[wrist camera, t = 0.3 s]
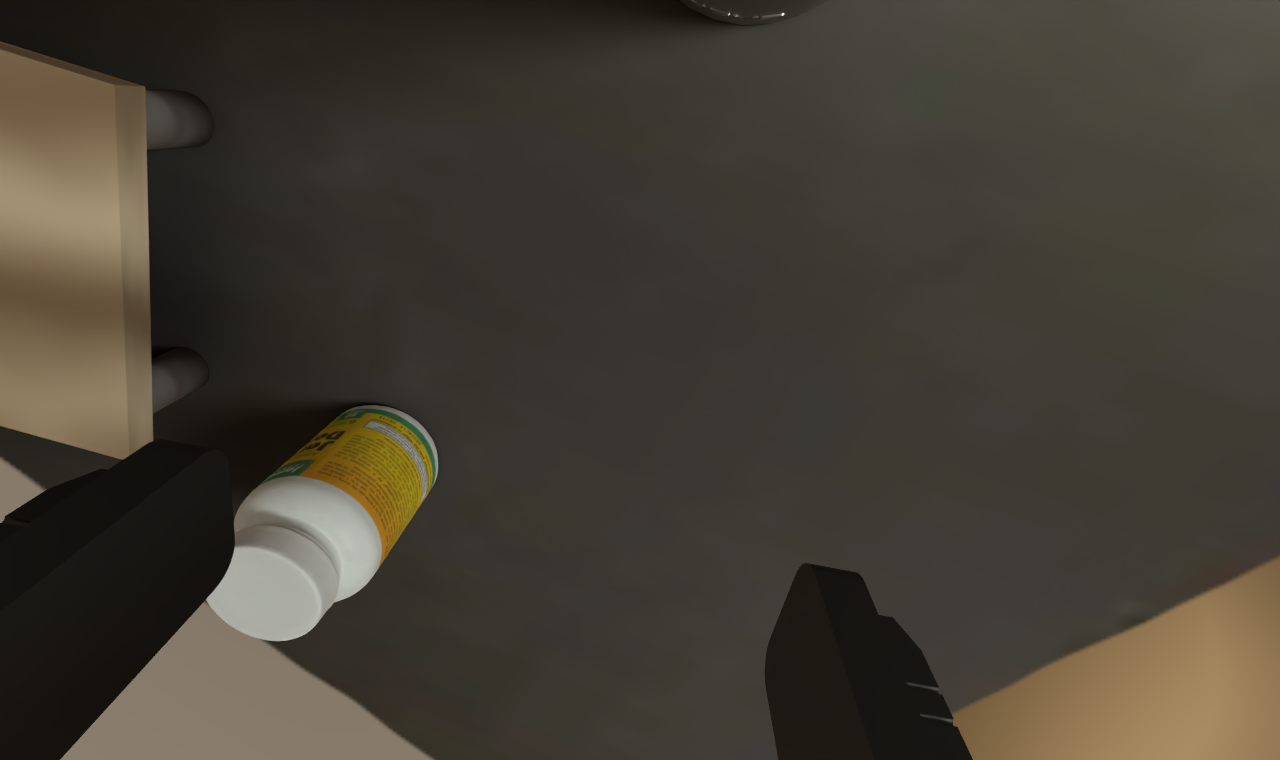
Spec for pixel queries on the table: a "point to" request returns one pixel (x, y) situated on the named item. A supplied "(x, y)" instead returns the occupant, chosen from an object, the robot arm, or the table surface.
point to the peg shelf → (84, 253)
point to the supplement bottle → (324, 522)
